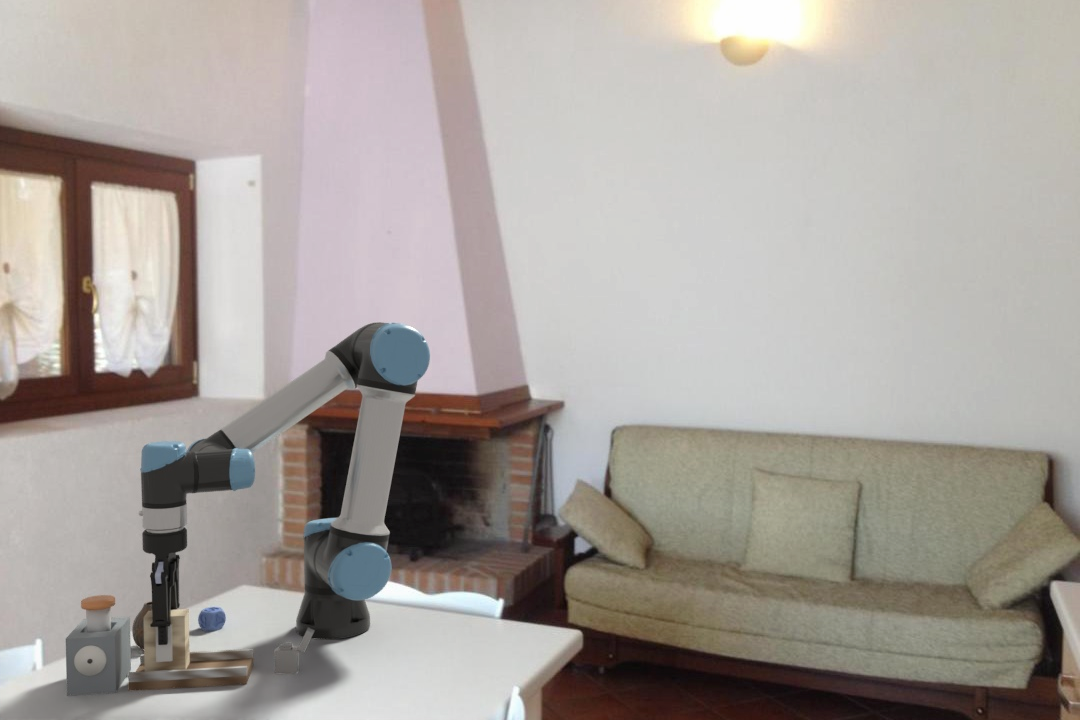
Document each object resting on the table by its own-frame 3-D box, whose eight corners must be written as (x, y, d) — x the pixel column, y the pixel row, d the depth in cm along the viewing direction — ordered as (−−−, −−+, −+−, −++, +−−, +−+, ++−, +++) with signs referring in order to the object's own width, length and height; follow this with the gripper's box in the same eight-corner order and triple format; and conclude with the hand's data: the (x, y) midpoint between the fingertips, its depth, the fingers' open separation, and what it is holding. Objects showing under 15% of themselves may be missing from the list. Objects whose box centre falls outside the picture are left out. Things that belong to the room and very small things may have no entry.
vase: (157, 654, 194) (156, 609, 193) (125, 651, 195) (124, 607, 195) (177, 642, 200) (176, 599, 200) (146, 639, 202) (145, 597, 201)
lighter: (274, 673, 184) (274, 630, 183) (276, 670, 185) (275, 627, 185) (313, 672, 184) (313, 630, 184) (315, 669, 186) (314, 626, 185)
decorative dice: (226, 627, 210) (226, 608, 210) (211, 632, 206) (210, 613, 206) (213, 624, 212) (212, 605, 212) (197, 629, 209) (197, 610, 208)
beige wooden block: (189, 662, 184) (188, 608, 183) (185, 670, 180) (184, 615, 179) (149, 664, 182) (148, 610, 182) (144, 672, 178) (143, 617, 178)
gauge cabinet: (131, 669, 185) (129, 616, 185) (114, 694, 174) (113, 637, 173) (85, 672, 184) (83, 618, 183) (65, 696, 173) (64, 639, 172)
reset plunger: (119, 637, 182) (118, 594, 182) (111, 648, 177) (110, 603, 176) (87, 639, 181) (86, 595, 181) (77, 650, 176) (76, 605, 175)
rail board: (253, 664, 188) (253, 648, 188) (246, 684, 179) (246, 667, 178) (141, 670, 185) (141, 654, 185) (128, 690, 175) (128, 674, 175)
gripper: (153, 518, 187) (155, 641, 189) (131, 540, 170) (134, 674, 172) (194, 517, 189) (197, 639, 190) (177, 538, 172) (179, 672, 173)
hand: (167, 656), depth 181 cm, fingers closed on beige wooden block, 4 cm apart
